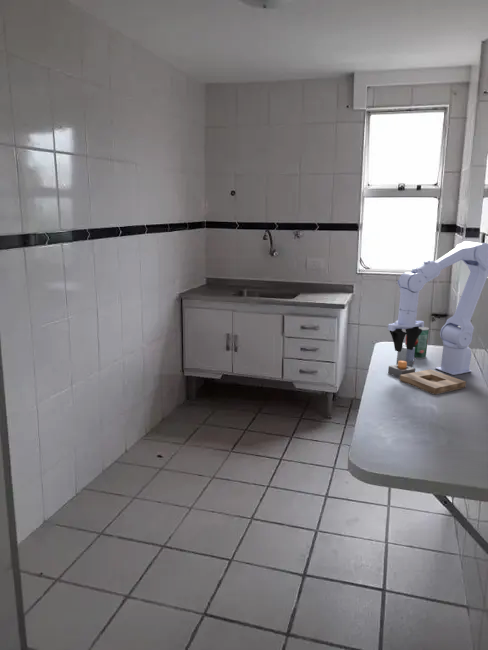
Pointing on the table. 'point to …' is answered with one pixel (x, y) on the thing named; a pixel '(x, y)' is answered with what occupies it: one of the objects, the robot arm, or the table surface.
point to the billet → (406, 356)
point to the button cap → (402, 364)
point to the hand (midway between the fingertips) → (403, 350)
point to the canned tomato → (421, 343)
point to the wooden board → (432, 381)
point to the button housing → (400, 370)
